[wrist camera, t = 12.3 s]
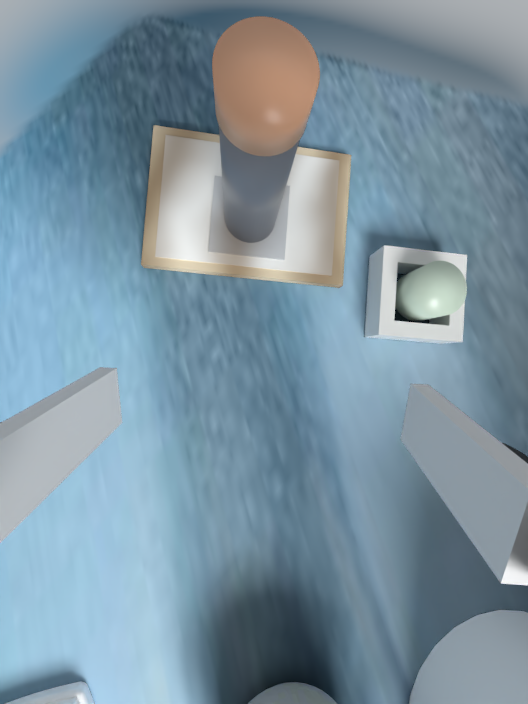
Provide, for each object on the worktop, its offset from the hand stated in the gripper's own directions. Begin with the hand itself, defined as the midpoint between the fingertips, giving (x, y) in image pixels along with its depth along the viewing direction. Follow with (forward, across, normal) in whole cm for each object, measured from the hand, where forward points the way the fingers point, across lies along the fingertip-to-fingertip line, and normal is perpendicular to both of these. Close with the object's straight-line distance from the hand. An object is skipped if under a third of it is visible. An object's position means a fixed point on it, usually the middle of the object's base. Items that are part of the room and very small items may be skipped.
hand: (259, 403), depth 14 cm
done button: (+13, +12, +4) cm, 18 cm away
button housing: (+15, +12, +4) cm, 19 cm away
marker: (+13, -2, +10) cm, 17 cm away
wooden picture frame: (+15, -2, +10) cm, 18 cm away
